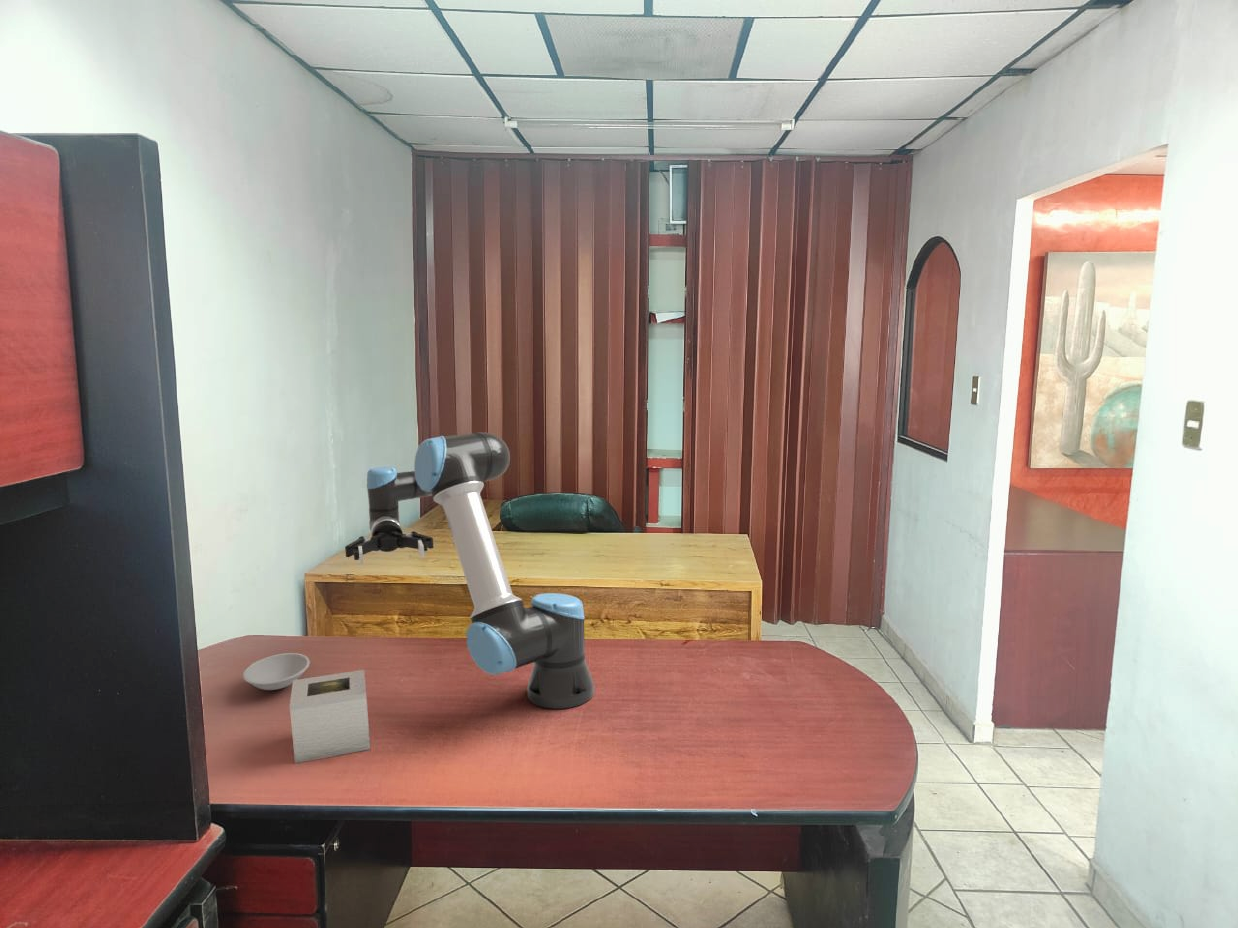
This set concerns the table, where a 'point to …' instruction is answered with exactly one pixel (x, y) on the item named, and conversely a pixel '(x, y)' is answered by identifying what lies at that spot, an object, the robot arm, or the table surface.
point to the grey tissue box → (329, 716)
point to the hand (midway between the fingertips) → (392, 555)
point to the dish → (276, 670)
